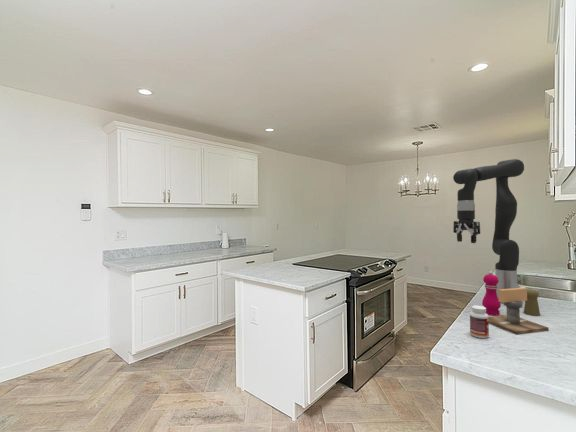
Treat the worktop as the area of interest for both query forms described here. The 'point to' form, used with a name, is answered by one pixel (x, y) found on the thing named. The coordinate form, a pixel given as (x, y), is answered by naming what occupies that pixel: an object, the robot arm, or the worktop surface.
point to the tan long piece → (513, 296)
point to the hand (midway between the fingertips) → (466, 242)
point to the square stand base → (515, 323)
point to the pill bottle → (479, 322)
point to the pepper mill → (491, 295)
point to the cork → (532, 303)
